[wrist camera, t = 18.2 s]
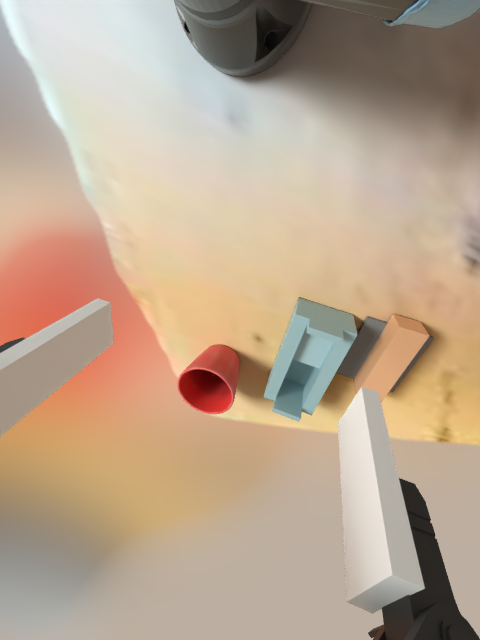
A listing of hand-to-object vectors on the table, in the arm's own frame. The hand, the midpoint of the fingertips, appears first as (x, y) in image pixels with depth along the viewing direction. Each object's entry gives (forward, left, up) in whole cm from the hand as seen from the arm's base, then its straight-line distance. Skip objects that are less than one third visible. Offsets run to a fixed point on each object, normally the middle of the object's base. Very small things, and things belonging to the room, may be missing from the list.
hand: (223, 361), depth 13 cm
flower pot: (+27, -6, -31) cm, 41 cm away
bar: (+13, +20, -30) cm, 38 cm away
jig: (+18, +9, -30) cm, 36 cm away
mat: (+14, +20, -30) cm, 39 cm away
